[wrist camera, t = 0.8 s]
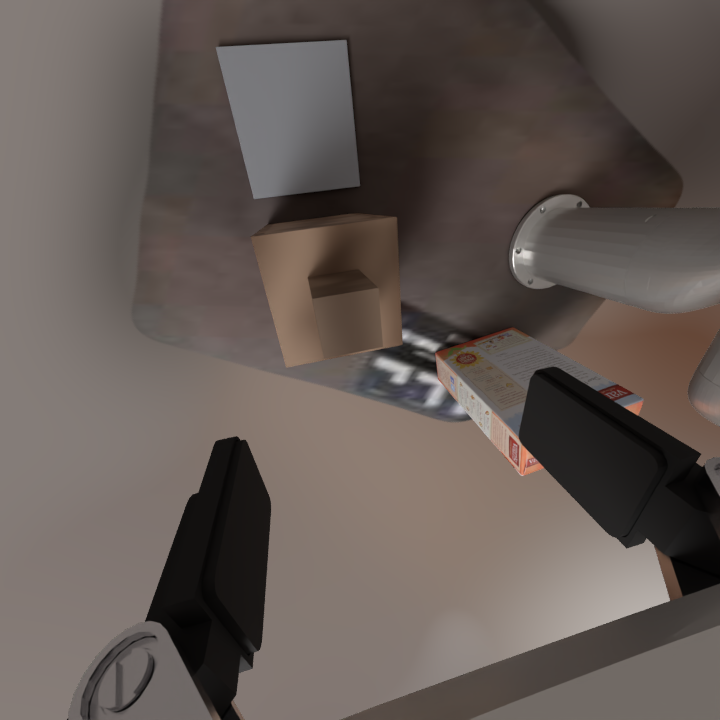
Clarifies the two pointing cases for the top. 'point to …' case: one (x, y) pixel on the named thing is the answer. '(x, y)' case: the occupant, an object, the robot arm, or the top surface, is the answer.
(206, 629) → the robot arm
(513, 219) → the top surface
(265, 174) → the slate mat
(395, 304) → the walnut cover
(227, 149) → the top surface
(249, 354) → the top surface
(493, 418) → the cracker box
